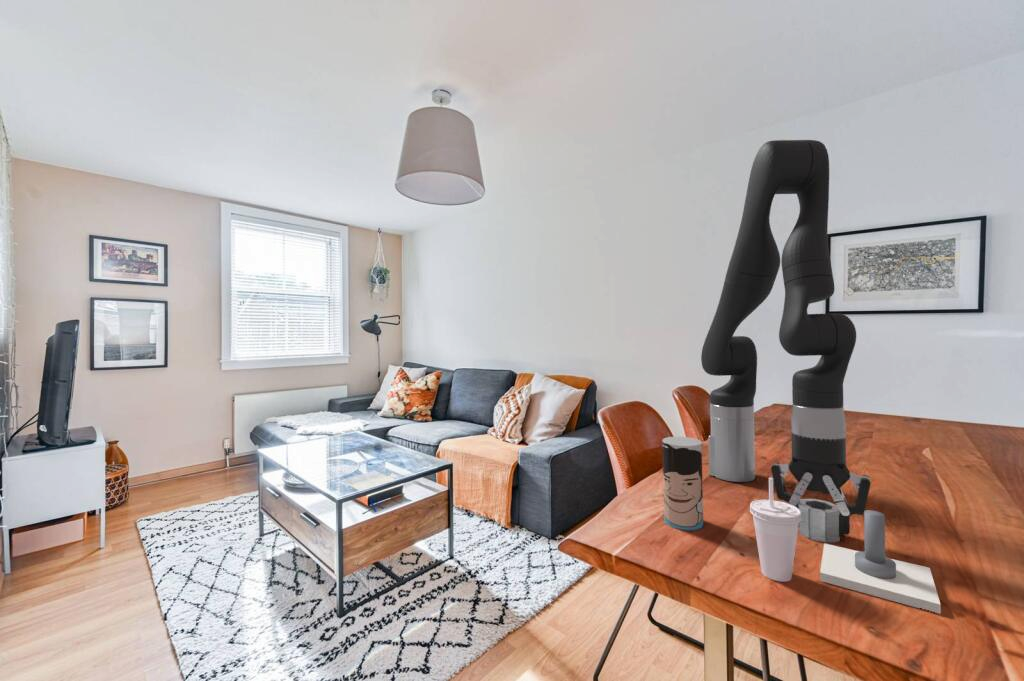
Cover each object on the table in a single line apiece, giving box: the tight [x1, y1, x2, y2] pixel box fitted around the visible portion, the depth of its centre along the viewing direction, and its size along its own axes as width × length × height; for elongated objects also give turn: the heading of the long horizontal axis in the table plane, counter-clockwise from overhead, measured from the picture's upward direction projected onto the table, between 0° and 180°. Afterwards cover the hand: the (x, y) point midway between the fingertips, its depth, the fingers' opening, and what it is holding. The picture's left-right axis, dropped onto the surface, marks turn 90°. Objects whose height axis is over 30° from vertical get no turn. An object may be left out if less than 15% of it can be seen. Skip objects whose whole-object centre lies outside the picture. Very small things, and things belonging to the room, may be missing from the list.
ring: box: [798, 498, 841, 544], centre depth 73 cm, size 6×6×5 cm
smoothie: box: [749, 477, 802, 583], centre depth 62 cm, size 6×6×14 cm
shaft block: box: [819, 509, 942, 615], centre depth 60 cm, size 12×10×9 cm
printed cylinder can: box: [661, 436, 704, 531], centre depth 79 cm, size 7×7×15 cm
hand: (819, 530), depth 73 cm, fingers closed on ring, 5 cm apart
